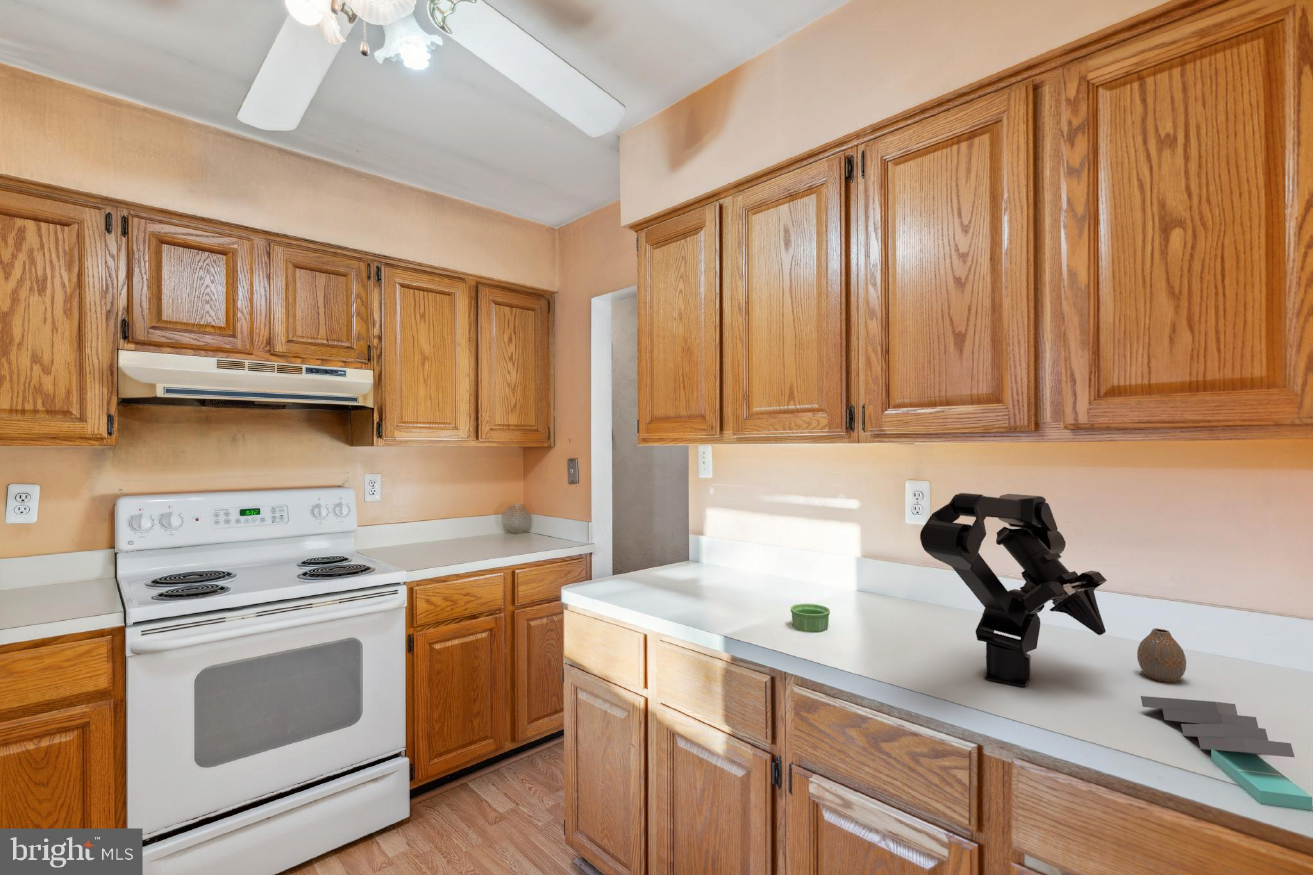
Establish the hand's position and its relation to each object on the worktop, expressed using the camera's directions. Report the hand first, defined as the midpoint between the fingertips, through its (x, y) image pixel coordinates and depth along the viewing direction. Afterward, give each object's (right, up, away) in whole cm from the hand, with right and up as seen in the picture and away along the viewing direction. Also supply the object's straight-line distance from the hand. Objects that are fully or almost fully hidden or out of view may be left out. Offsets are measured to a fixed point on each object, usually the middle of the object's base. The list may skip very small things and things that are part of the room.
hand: (1102, 633), depth 104 cm
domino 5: (+2, -10, -21) cm, 24 cm away
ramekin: (-41, -11, +38) cm, 57 cm away
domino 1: (+4, -9, -6) cm, 12 cm away
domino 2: (+5, -10, -10) cm, 14 cm away
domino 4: (+3, -10, -18) cm, 21 cm away
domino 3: (+4, -10, -14) cm, 18 cm away
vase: (+16, -11, +7) cm, 20 cm away
